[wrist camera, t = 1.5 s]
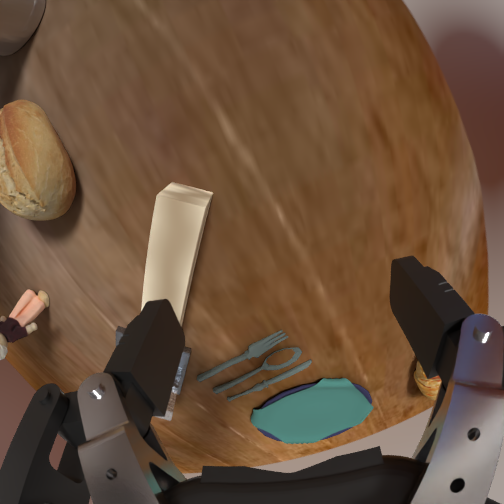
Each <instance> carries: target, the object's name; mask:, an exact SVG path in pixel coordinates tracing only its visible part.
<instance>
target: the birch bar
mask: <svg viewBox="0 0 504 504" xmlns="http://www.w3.org/2000/svg"><path fill="white" fill-rule="evenodd" d="M212 195H213V192H209V191H205V190H201V189H197V188H194V187H190V186H186V185H182V184H178V183H174V182H172V183H171V184H169V185H168V186H167V187H166V188H165V189H163V190H162V191H161V192H160V193H159V194H158V195H157V197H156V202H155V208H154V214H153V220H152V226H151V232H150V239H149V246H148V253H147V261H146V269H145V277H144V287H143V297H142V309H143V307H144V306H145V304H146V302H147V301H153V300H160V299H168V300H169V301H170V303H171V305H172V307H173V310H174V312H175V314H176V316H177V318H178V321H179V323H180V325H181V327H182V324H183V319H184V314H185V309H186V304H187V299H188V295H189V290H190V285H191V281H192V276H193V272H194V268H195V263H196V259H197V255H198V250H199V246H200V242H201V238H202V234H203V230H204V226H205V222H206V218H207V214H208V210H209V206H210V202H211V199H212ZM142 309H141V311H142Z"/></svg>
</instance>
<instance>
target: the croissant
mask: <svg viewBox="0 0 504 504" xmlns="http://www.w3.org/2000/svg"><path fill="white" fill-rule="evenodd" d="M414 379H415V381H416V383H417V385H418V387H419V389H420V391H421V392H422V393H423V394H424V395H425V396H426V397H427V398H428V399H431V400H436V396H437V393H438V390H439V386H440V384H441V381H442V380H441V378H440V377H439V376H436V377H433V378H431V379H427V377H426V375H425V373H424V371H423V369H422V367H421V365H420V363H419V361H417V367H416V371H415V372H414Z"/></svg>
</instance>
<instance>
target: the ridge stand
mask: <svg viewBox="0 0 504 504" xmlns="http://www.w3.org/2000/svg"><path fill="white" fill-rule="evenodd" d="M125 330H126V328H123V327H120V326H118V328H117V330H116V346H117V345H119V341H120V339H121V337H123V333H124V331H125ZM190 353H191V348H187V347H184V350H183V353H182V357H181V360H180V364H179V367H178V371H177V374H176V378H175V381H174V385H173V388H172V392H171V395H170V399H169V403H168V406H167V410H166V414H165V417H159V416H155V417H159V418H162V419H166V420H170V421H171V418H172V414H173V410H174V405H175V400H176V395H177V394H179V395H180V391H181V387H182V383H183V379H184V376H185V372H186V368H187V364H188V360H189V357H190Z"/></svg>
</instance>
